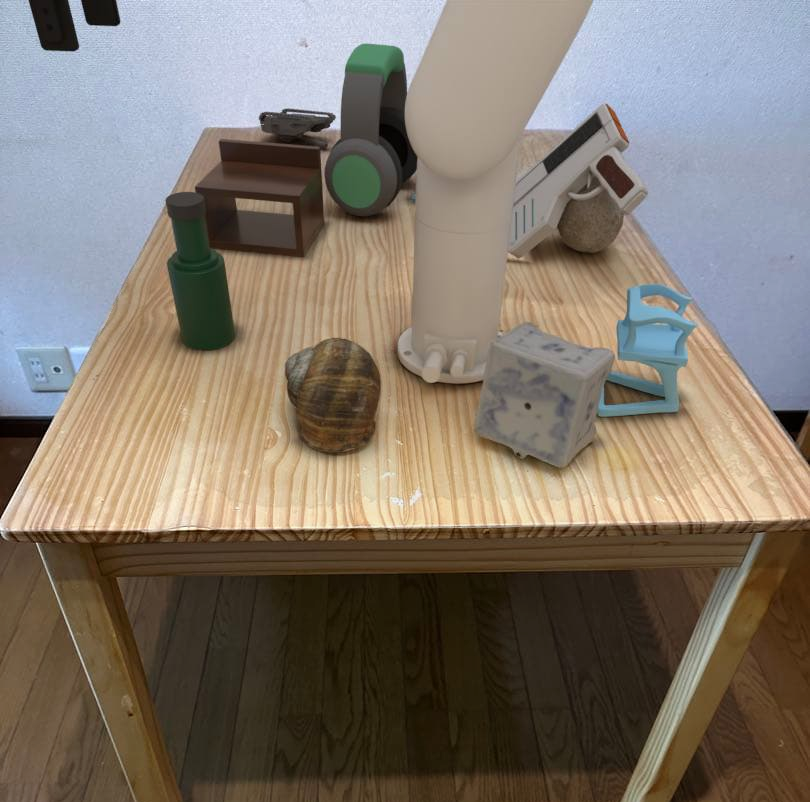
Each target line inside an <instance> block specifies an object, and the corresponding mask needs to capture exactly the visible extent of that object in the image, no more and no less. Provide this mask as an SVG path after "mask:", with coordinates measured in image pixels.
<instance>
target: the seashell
mask: <svg viewBox="0 0 810 802" xmlns="http://www.w3.org/2000/svg"><path fill="white" fill-rule="evenodd" d="M284 376H285V379H286V381H287V382H286V393H287V397H288V399H289V401H290V403H291V405H292V406H293V407H294V408H295V414H296V418H297V420H296V421H297V430H298V432H299V435H300V437H301V438H302V440H303V441H304V442H305V443H306V445H308V446H309V447H311V448H313V449H314V450H316V451H320V452H325V453H343V452H347V451H351V450H355V449H359V448H361V447H363V446H364V445H366V444H367V443H368V442H370V441H371V439H372V438H373V436H374V435H375V431H376V427H377V425H376V420H375V418H376V415H377V411H378V407H379V403H380V399H381V398H380V397H381V390H382V389H381V388H382V381H381V380H382V379H381V373H380V370H379V367H378V365H377V363H376V361H375V360H374V358H373V357H372V355H371V353H370V352H369V351H368V350H367V349H365V348H364V347H363V346H361V345H359V344H358V343H356V342H354V341H352V340H350V339H348V338H342V337H334V336H333V337H330V338H326V339H324V340H322V341H320V342H318V343H316V344H315V345H314V346H310V347H306V348H303V349H301V350H300V351H299V352H296V353H293V354H291V355H290V356H289V357H287V359H286V362H285V363H284Z"/></svg>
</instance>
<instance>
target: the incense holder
mask: <svg viewBox="0 0 810 802" xmlns="http://www.w3.org/2000/svg"><path fill="white" fill-rule="evenodd" d="M615 359H616V354H615V352H614V350H611V349H610V348H606V347H587V346H585V345H580V344H577V343H574V342H571V341H569V340H567V339H564V338H562V337H558V336H557V335H554V334H549V333H547V332H545V331H542V330H539V325H536V324H534V323H533V322H529V321H524V322H523V323H520V324H518V325H515V327H513V328H512V329H510V330H508V331H507V332H505V333H504V334H503V335H502V336H500V337H499V338H497V339H496V340H493V341H491V344H490V348H489V351H488V356H487V362H486V367H485V372H484V379H483V380H482V386H481V389H480V394H479V402H478V408H477V412H476V416H475V419H474V425H473V426H474V429H473V431H474V433H476V435H477V436H479V437H482V438H485V439H486V440H490V441H492V442H495V443H498V444H502V445H504V446H506V447H508V448H510V449H511V450H512V452H513V453H514V455H515V456H516V457H517V458H518V459H520V460H523V459H525V458H526V457H527V456H528V455H529V456H531V457H534V458H536V459H537V460H540V461H542V462H545V463H548V464H549V465H551V466H553V467H556V468H565V467H567V466H568V465H569V463H570V462H571V461H573V459H574V458H575V457H576V456H577V455H578V453H580V452H581V451H582V449H583V448H585V447H586V446H588V445H589V444H590V443H592V442H594V441H595V436H596V432H597V426H596V425H595V424H596V422H597V411H598V405H599V401H600V398H601V393H602V388H603V386H604V387H605V383H606V381H607V380H606V379H607V377H608V376H609V374H610V372H611V371H612V370H613V365H614V362H615Z"/></svg>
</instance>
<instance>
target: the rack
mask: <svg viewBox="0 0 810 802" xmlns="http://www.w3.org/2000/svg"><path fill="white" fill-rule="evenodd" d="M218 148H219V155H220V161H219V162H218V163H217V164H216V165H215V166H214V167H213V168H212V169H211V170H210V171H209V172H208V173H207V174H206V175H205V176H204V177H203V178H202V179H201V180H200V181H199V182H198V183H197V184H196V185H195V186H194V191H195V193H199V194H201V195H202V196H203V197H204V201H205V208H206V214H205V220H206V227H207V233H208V239H209V246H210V248H212V249H218V250H229V251H230V250H231V251H237V252H238V251H239V252H240V251H241V252H248V253H250V252H251V253H259V254H270V255H280V256H292V257H299V258H300V257H301V258H304V257H305V256H306V254H307V252H308V251H309V249H310V248H311V247H312V245H313V243H314V241H316V238H317V237H318V235H319V234H320V232H321V230H322V229H323V228H324V226H325V212H324V194H323V192H324V191H323V176H322V175H323V173H322V154H321V147H319V146H314V145H301V144H291V143H289V144H288V143H277V142H264V141H251V140H242V139H240V140H238V139H226V138H220V139H219V140H218ZM236 199H241V200H254V201H264V202H276V203H286V204H292V211H293V214H287V213H278V212H277V213H276V212H268V211H267V212H266V211H254V210H246V209H245V210H243V209H238V208H237V200H236Z"/></svg>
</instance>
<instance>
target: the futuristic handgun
mask: <svg viewBox="0 0 810 802" xmlns="http://www.w3.org/2000/svg"><path fill="white" fill-rule="evenodd" d="M629 147H630V140H629V139H628V136H627V134H626V132H625V130H624V128H623V126H622V124H621V122H620V120H619V117H618V115H617V114H616V111H615V110H614V109H613V108H612V107H611V106H610V105H609V104H608V103H605V102H602V104H600V105H599V106H598V107H597V108H596V109H595V110H593V111H592V113H590V114H589V115H588V116H587V117H586V118H585V119H584V120H582V121H581V122H580V123H579V124H578V125H577V126H576V127H574V129H572V130H571V131H570V132H569V133H568V134H567V135H566V136H565V137H563V139H562V140H560V141H559V142H558V143H557V144H556V145H555V146H554V147H553V148H552V149H550V150H549V151H548V152H547V153H546V154H545V155H544V156H543V157H541V158H540V159H539V160H538V161H537V162H535V163H536V164H535V163H534V164H535V165H534V166H533V167H532V168H531V169H529V170H528V171H527V172H526V173H525V174H524V175H523V176H522V177H521V178H519V179H518V180H517V181H516V186H515V195H514V204H513V212H512V219H511V227H510V236H509V245H508V254H510V255H512V256H514V257H515V258H517V259H521V258H523V257H524V256H525V255H527V254H528V253H529V252H530V251H532V250H533V249H534V248H535V247H536V246H538V245H539V244H540V243H541V242H542V241H544V240H545V239H546V238H547V237H548V236H550V235H552V233H553V232H555V231H556V229H557V228H558V226H557V225H558V223H559V220H560V218H561V216H562V213H563V211H564V209H565V206H566V204H567V203H568V202H569V201H570V200H571V199H575V200H579V201H580V200H588V199H590V198H592V197H594V196H596V195H597V194H599V193H600V192H601V191H602V190H603V189H606V190H607V192H608V194H609V196H610V198H611V199H612V200H613V201H614V202H615V203H616V204H617V206H618V208H619V210H620V211H621V212H622V213H623V214H624V216H629V215H630V214H631V213H632V212H633V211H635V209H636V208H638V206H640V204H642V202H643V201H644V200H645V199H646V198H647V196H648V195H649V190H648V189H649V188H648V187H647V185H646V183H645V182H644V180H643V179H642V178H641V177H640V176H639V175H638V174H637V173H636V172H635V171H634V170H633V168H632V167H631V165H629V163H628V162H627V160H626V159H625V156H624V155H623V153H624V152H625V151H626V150H627V149H628V148H629ZM594 176H596V177H597V178H598V180H599V182H600V184H601V185H600V186H599V187H597V188H596V189H594V190H593V191H591V192H590V193H587V194H577V193H578V192H579V191H580V190H581V189H582V188H583V187H584V186H585V185H586V184H587V183H588V186H587V189H588V188H589V187H590V184H591V181H592V178H593V177H594Z"/></svg>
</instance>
